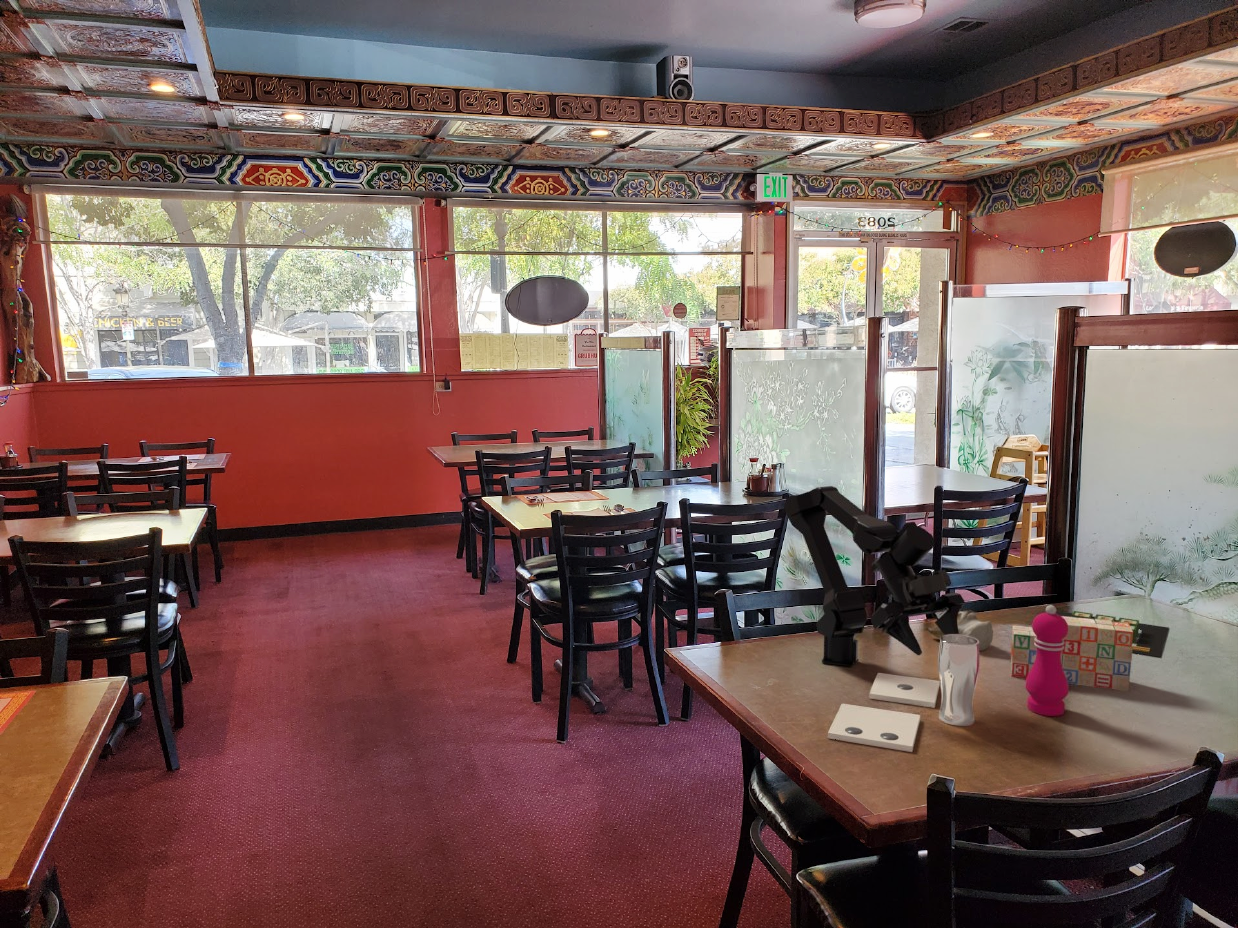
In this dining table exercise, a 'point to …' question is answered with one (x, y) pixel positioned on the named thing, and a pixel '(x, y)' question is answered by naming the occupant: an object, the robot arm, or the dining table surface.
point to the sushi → (1134, 633)
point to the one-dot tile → (905, 690)
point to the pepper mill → (1048, 665)
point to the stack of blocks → (1082, 652)
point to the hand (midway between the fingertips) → (939, 650)
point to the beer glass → (958, 678)
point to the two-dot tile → (875, 727)
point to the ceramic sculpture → (970, 628)
